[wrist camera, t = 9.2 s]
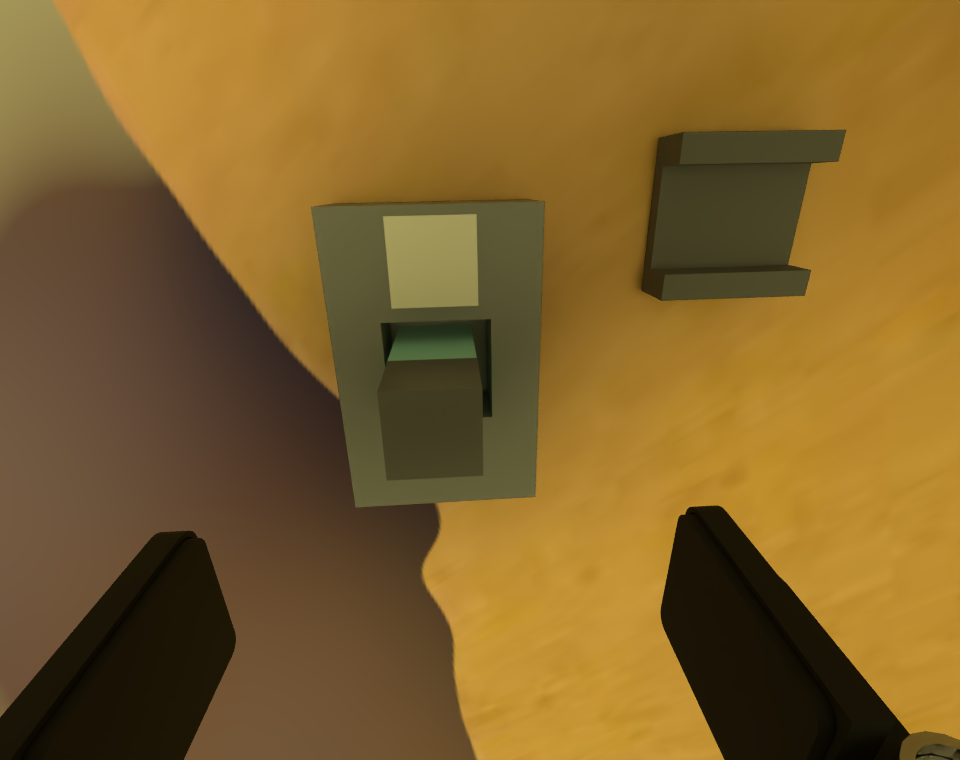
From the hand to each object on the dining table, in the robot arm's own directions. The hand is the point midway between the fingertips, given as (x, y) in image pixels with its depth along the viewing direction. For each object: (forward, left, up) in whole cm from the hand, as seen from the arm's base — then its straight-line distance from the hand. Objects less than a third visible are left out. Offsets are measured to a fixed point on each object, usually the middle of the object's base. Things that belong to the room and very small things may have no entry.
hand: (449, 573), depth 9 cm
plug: (+1, -1, -15) cm, 15 cm away
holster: (-6, +14, -16) cm, 22 cm away
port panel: (0, 0, -16) cm, 16 cm away
